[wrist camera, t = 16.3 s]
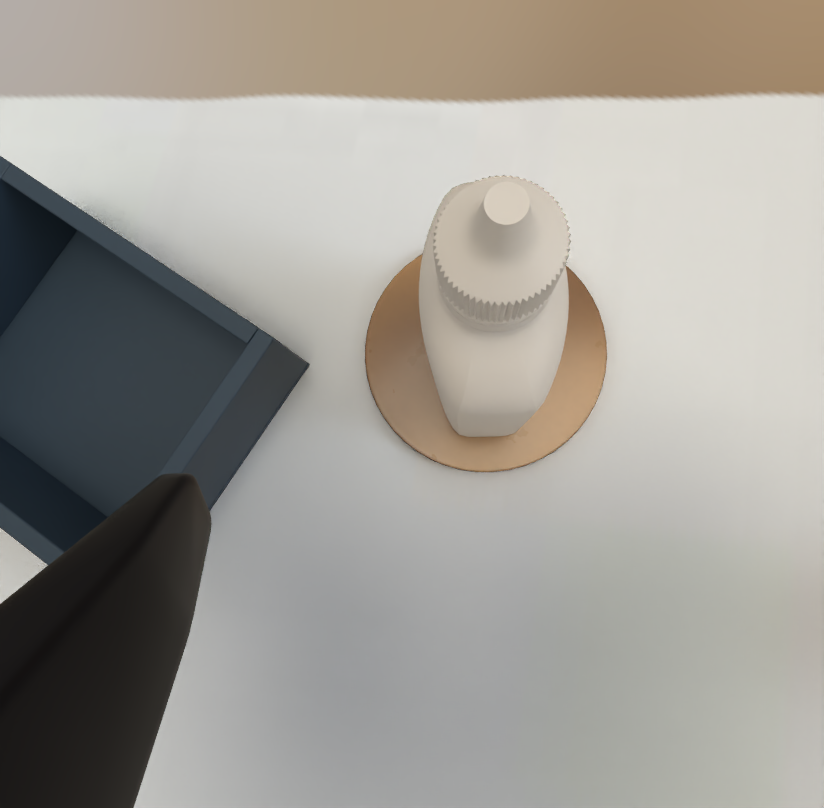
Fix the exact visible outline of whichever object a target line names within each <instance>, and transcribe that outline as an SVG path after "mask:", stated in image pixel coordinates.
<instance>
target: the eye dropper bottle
mask: <svg viewBox="0 0 824 808" xmlns="http://www.w3.org/2000/svg"><path fill="white" fill-rule="evenodd" d="M564 217H565V214H564V213H563V212H562V208H561V207H560V206H558V202H557V201H555V200H554V197H553V196H550V195H549V192H547V191H544V188H542V187H539V186H538V184H533V183H532V181H527V180H526V179H520V178H519V177H512V176H508V177H507V176H504V175H503V176H501V177H500V176H497V175H496V176H495V177H490V176H489V177H488V178H482V179H481V180H476V181H475V182H471V183H464V184H461V185H459V186H456V187H454V188H452V189H451V190H450V191H449V192H448V193H447V194H446V195H445V197H444V198H443V200H442V202H441V204H440V205H439V207H438V209H437V212H436V214H435V216H434V218H433V221H432V224H431V226H430V229H429V232H428V235H427V239H426V242H425V246H424V251H423V255H422V261H421V268H420V278H419V312H420V321H421V328H422V334H423V339H424V344H425V348H426V352H427V356H428V360H429V364H430V367H431V371H432V374H433V377H434V381H435V384H436V387H437V390H438V394H439V397H440V400H441V403H442V406H443V409H444V411H445V414H446V416H447V418H448V420H449V422H450V424H451V426H452V428H453V429H454V430H455V431H456V432H457V433H458V434H459V435H462V436H466V437H495V436H507V435H510V434H513V433H515V432H516V431H517V430H519V429H520V428H521V427H522V426H523V425H524V424H525V423H526V422H527V421H528V420H529V419H530V418H531V417H532V416H533V415H534V414H535V412H536V411H537V410H538V409H539V408H540V407H541V405H542V404H543V403H544V401H545V399H546V397H547V395H548V393H549V391H550V388H551V386H552V383H553V381H554V378H555V375H556V372H557V369H558V366H559V363H560V360H561V356H562V352H563V348H564V343H565V337H566V331H567V323H568V310H569V290H568V279H567V271H566V263H567V259H568V256H569V254H568V252H569V250H570V247H569V245H570V242H571V241H570V239H569V237H570V235H571V234H570V233H569V232H568V231H569V228H570V227H569V226H568V225H567V222H568V221H567V220H566V219H565V218H564Z"/></svg>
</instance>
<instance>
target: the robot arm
mask: <svg viewBox="0 0 824 808" xmlns="http://www.w3.org/2000/svg"><path fill="white" fill-rule="evenodd" d="M210 532H211V515H210V511H209V509H208V506H207V504H206V502H205V499H204V497H203V494H202V492H201V489H200V487H199V484H198V482H197V480H196V478H195V477H194V476H193V475H192V474H188V473H172V474H163V475H160V476H159V477H157V478H156V479H155V480H153V481H152V482H151V483H150V484H149V485H147V486H146V487H145V488H144V489H142V490H141V491H140V492H139V493H137V494H136V495H135V496H134V497H132V498H131V499H130V500H129V501H127V502H126V503H125V504H124V505H122V506H121V507H120V508H119V509H118V510H116V511H115V512H114V513H113V514H111V515H110V516H109V517H108V518H106V519H105V520H104V521H103V522H101V523H100V524H99V525H98V526H96V527H95V528H94V529H93V530H91V531H90V532H89V533H88V534H87V535H85V536H84V537H83V538H82V539H80V540H79V541H78V542H77V543H75V544H74V545H73V546H72V547H70V548H69V549H68V550H67V551H65V552H64V553H63V554H62V555H61V556H59V557H58V558H57V559H56V560H54V561H53V562H52V563H51V564H49V565H48V566H47V567H46V568H44V569H43V570H42V571H41V572H39V573H38V574H37V575H36V576H34V577H33V578H32V579H31V580H30V581H28V582H27V583H26V584H25V585H23V586H22V587H21V588H20V589H18V590H17V591H16V592H15V593H13V594H12V595H11V596H10V597H8V598H7V599H6V600H5V601H3V602H2V603H1V604H0V808H134V804H135V801H136V798H137V795H138V792H139V789H140V786H141V783H142V780H143V776H144V773H145V770H146V767H147V764H148V761H149V758H150V755H151V752H152V749H153V745H154V742H155V739H156V736H157V733H158V730H159V727H160V724H161V721H162V717H163V714H164V711H165V708H166V705H167V702H168V699H169V696H170V693H171V690H172V686H173V683H174V680H175V677H176V674H177V671H178V668H179V665H180V662H181V658H182V655H183V652H184V649H185V646H186V642H187V639H188V636H189V632H190V628H191V624H192V620H193V615H194V611H195V606H196V601H197V596H198V591H199V586H200V581H201V576H202V571H203V566H204V561H205V556H206V552H207V547H208V542H209V537H210Z"/></svg>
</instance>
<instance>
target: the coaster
mask: <svg viewBox="0 0 824 808" xmlns="http://www.w3.org/2000/svg"><path fill="white" fill-rule="evenodd" d="M422 255H423V254H422ZM422 255H420V256H418V257H417V258H415V259H414V260H413V261H412V262H410V263H409V264H408V265H406V266H405V267H404V268H403V269H402V270H401V271H400V272H399V273H398V274H397V275H396V276H395V277H394V278H393V280H392V281H391V282H390V284H389V285H388V286H387V287H386V289H385V290H384V292H383V294H382V295H381V297H380V299H379V300H378V302H377V304H376V307H375V309H374V311H373V314H372V316H371V320H370V323H369V327H368V330H367V337H366V344H365V364H366V372H367V378H368V382H369V386H370V390H371V392H372V395H373V397H374V400H375V402H376V405H377V407H378V408H379V410H380V412H381V414H382V415H383V417H384V419H385V420H386V421H387V423H388V424H389V425H390V427H391V428H392V429H393V431H394V432H395V433H396V434H397V435H398V436H399V437H400V438H401V439H402V440H403V441H404V442H406V443H407V444H408V445H409V446H411V447H412V448H413V449H415V450H416V451H417V452H419V453H421V454H422V455H424V456H426V457H428V458H429V459H431V460H433V461H436V462H438V463H441V464H443V465H445V466H449V467H453V468H456V469H460V470H466V471H474V472H497V471H504V470H511V469H514V468H518V467H522V466H525V465H528V464H530V463H533V462H535V461H537V460H540V459H542V458H543V457H545V456H547V455H549V454H550V453H552V452H554V451H555V450H557V449H558V448H559V447H560V446H562V445H563V444H564V443H566V442H567V441H568V440H569V439H570V438H571V437H572V436H573V435H574V434H575V433H576V432H577V431H578V430H579V428H580V427H581V426H582V424H583V423H584V422H585V420H586V419H587V418H588V416H589V414H590V413H591V411H592V409H593V407H594V405H595V404H596V401H597V399H598V396H599V394H600V391H601V388H602V384H603V380H604V376H605V371H606V361H607V348H606V337H605V331H604V326H603V323H602V320H601V317H600V313H599V311H598V308H597V306H596V304H595V302H594V300H593V298H592V296H591V295H590V293H589V292H588V290H587V289H586V287H585V285H584V284H583V283H582V282H581V280H580V279H579V278H578V277H577V276H576V275H575V273H574V272H573V271H571V270H570V269H569V268H568V267H567V266H566V271H567V279H568V290H569V310H568V323H567V331H566V337H565V343H564V348H563V352H562V356H561V360H560V363H559V366H558V369H557V372H556V375H555V378H554V381H553V383H552V386H551V388H550V391H549V393H548V395H547V397H546V399H545V401H544V403H543V404H542V405H541V407H540V408H539V409H538V410H537V411H536V412H535V414H534V415H533V416H532V417H531V418H530V419H529V420H528V421H527V422H526V423H525V424H524V425H523V426H522V427H521V428H520V429H519V430H517V431H516V432H515V433H513V434H510V435H507V436H495V437H466V436H462V435H459V434H458V433H457V432H456V431H455V430H454V429H453V428H452V426H451V424H450V422H449V420H448V418H447V416H446V414H445V411H444V409H443V406H442V403H441V400H440V397H439V394H438V390H437V387H436V384H435V381H434V377H433V374H432V371H431V367H430V364H429V360H428V356H427V352H426V348H425V344H424V339H423V334H422V328H421V321H420V312H419V278H420V268H421V261H422Z"/></svg>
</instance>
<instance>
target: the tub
mask: <svg viewBox="0 0 824 808" xmlns="http://www.w3.org/2000/svg"><path fill="white" fill-rule="evenodd" d="M308 366H309V363H307V362H306V361H304V360H303V359H302V358H300V357H299V356H298V355H296V354H295V353H293V352H292V351H291V350H289V349H288V348H287V347H285V346H284V345H283V344H281V343H280V342H279V341H277V340H276V339H274V338H273V337H272V336H270V335H269V334H267V333H266V332H264V331H263V330H261V329H259V328H258V327H257V326H255V325H254V324H252V323H251V322H249V321H248V320H246V319H245V318H243V317H242V316H240V315H239V314H237V313H236V312H234V311H233V310H231V309H229V308H228V307H226V306H225V305H223V304H222V303H220V302H219V301H217V300H216V299H214V298H213V297H211V296H210V295H208V294H207V293H205V292H204V291H202V290H201V289H199V288H198V287H196V286H195V285H193V284H192V283H190V282H189V281H187V280H186V279H184V278H183V277H181V276H180V275H178V274H177V273H175V272H174V271H172V270H171V269H169V268H168V267H166V266H165V265H163V264H162V263H160V262H159V261H157V260H156V259H154V258H153V257H151V256H150V255H148V254H147V253H145V252H144V251H142V250H141V249H139V248H138V247H136V246H135V245H133V244H132V243H130V242H129V241H127V240H126V239H124V238H123V237H121V236H120V235H118V234H117V233H115V232H114V231H112V230H111V229H109V228H108V227H106V226H105V225H103V224H102V223H100V222H99V221H97V220H96V219H94V218H93V217H91V216H90V215H88V214H87V213H85V212H84V211H82V210H81V209H79V208H78V207H76V206H75V205H73V204H72V203H70V202H69V201H67V200H66V199H64V198H63V197H61V196H60V195H58V194H57V193H55V192H54V191H52V190H51V189H49V188H48V187H46V186H45V185H43V184H42V183H40V182H39V181H37V180H36V179H34V178H33V177H31V176H30V175H28V174H27V173H25V172H24V171H22V170H21V169H19V168H18V167H16V166H15V165H13V164H12V163H10V162H9V161H7V160H6V159H4V158H3V157H1V156H0V528H1V529H3V530H4V531H5V532H6V533H8V534H9V535H10V536H12V537H13V538H14V539H15V540H17V541H18V542H19V543H21V544H22V545H23V546H24V547H26V548H27V549H28V550H30V551H31V552H32V553H33V554H35V555H36V556H37V557H38V558H40V559H41V560H42V561H44V562H45V563H46V564H47V565H49V564H51V563H52V562H53V561H54V560H56V559H57V558H58V557H59V556H61V555H62V554H63V553H64V552H65V551H67V550H68V549H69V548H70V547H72V546H73V545H74V544H75V543H77V542H78V541H79V540H80V539H82V538H83V537H84V536H85V535H87V534H88V533H89V532H90V531H91V530H93V529H94V528H95V527H96V526H98V525H99V524H100V523H101V522H103V521H104V520H105V519H106V518H108V517H109V516H110V515H111V514H113V513H114V512H115V511H116V510H118V509H119V508H120V507H121V506H122V505H124V504H125V503H126V502H127V501H129V500H130V499H131V498H132V497H134V496H135V495H136V494H137V493H139V492H140V491H141V490H142V489H144V488H145V487H146V486H147V485H149V484H150V483H151V482H152V481H153V480H155V479H156V478H157V477H159V476H160V475H163V474H172V473H188V474H192V475H193V476H194V477H195V478H196V480H197V482H198V484H199V487H200V489H201V492H202V494H203V497H204V499H205V502H206V504H207V506H208V509H209V511H210V509H211V508H212V506H213V505H214V504H215V502H216V501H217V499H218V498H219V496H220V495H221V493H222V492H223V490H224V489H225V487H226V486H227V485H228V483H229V482H230V480H231V479H232V477H233V476H234V474H235V473H236V471H237V470H238V468H239V467H240V465H241V464H242V463H243V461H244V460H245V458H246V457H247V455H248V454H249V452H250V451H251V449H252V448H253V446H254V445H255V444H256V442H257V441H258V439H259V438H260V436H261V435H262V433H263V432H264V430H265V429H266V427H267V426H268V425H269V423H270V422H271V420H272V419H273V417H274V416H275V414H276V413H277V411H278V410H279V408H280V407H281V405H282V404H283V403H284V401H285V400H286V398H287V397H288V395H289V394H290V392H291V391H292V389H293V388H294V386H295V385H296V384H297V382H298V381H299V379H300V378H301V376H302V375H303V373H304V372H305V370H306V369H307V367H308Z"/></svg>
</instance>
